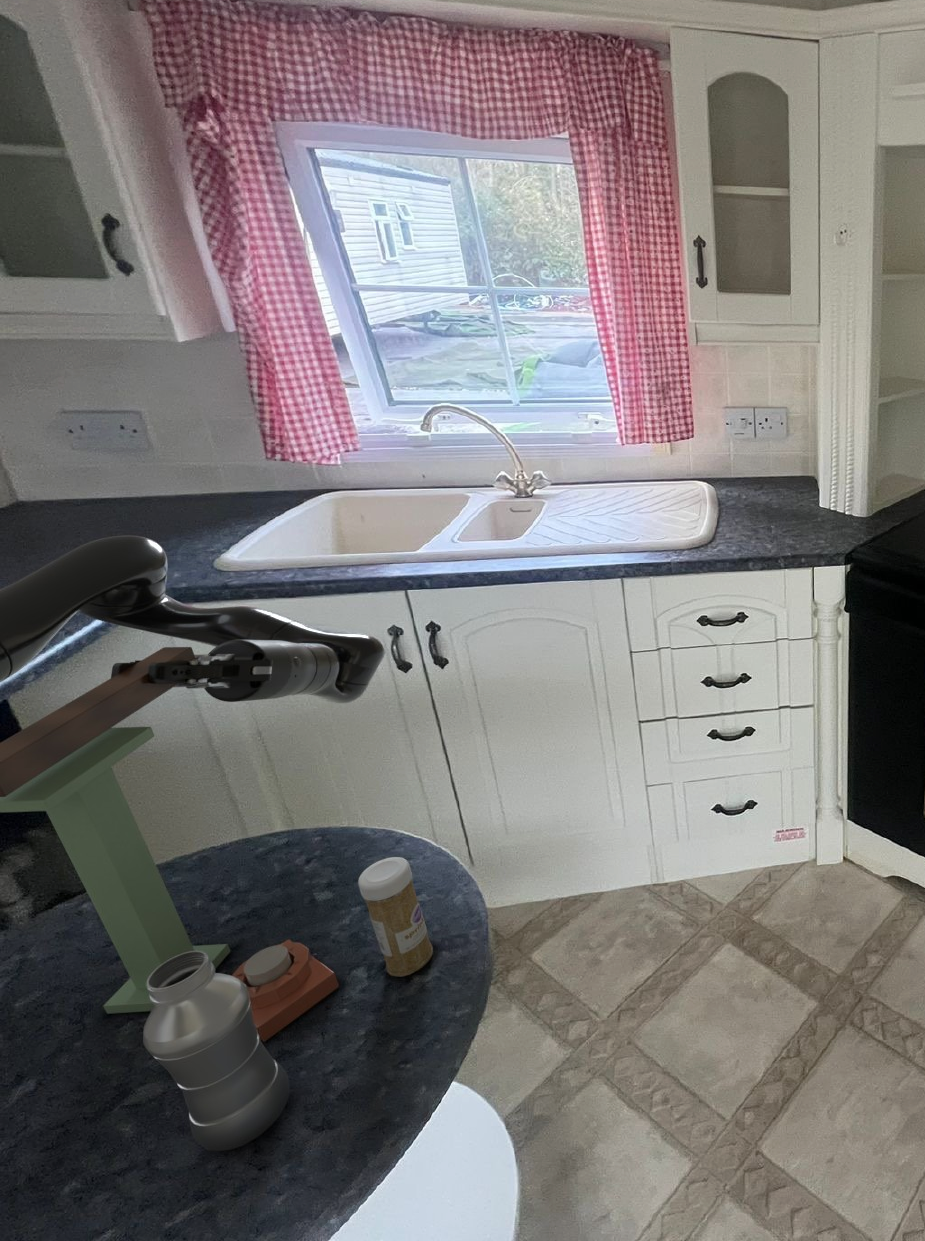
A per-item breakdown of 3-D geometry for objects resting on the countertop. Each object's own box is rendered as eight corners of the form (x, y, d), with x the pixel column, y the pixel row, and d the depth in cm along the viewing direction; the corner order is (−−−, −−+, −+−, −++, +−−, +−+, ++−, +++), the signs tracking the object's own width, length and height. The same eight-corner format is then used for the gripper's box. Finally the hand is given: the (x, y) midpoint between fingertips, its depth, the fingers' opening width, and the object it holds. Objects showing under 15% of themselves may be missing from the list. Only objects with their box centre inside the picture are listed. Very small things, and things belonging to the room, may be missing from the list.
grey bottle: (309, 1108, 70) (245, 957, 62) (217, 1179, 64) (136, 1022, 57) (278, 1071, 73) (214, 922, 65) (188, 1136, 67) (106, 981, 60)
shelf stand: (178, 939, 86) (80, 728, 75) (244, 936, 86) (156, 726, 75) (88, 1032, 75) (-40, 803, 64) (164, 1027, 76) (50, 800, 65)
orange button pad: (218, 1003, 79) (206, 977, 77) (294, 952, 85) (284, 927, 83) (264, 1042, 75) (252, 1015, 74) (339, 986, 81) (330, 960, 80)
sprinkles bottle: (431, 969, 83) (405, 879, 78) (383, 984, 82) (352, 893, 76) (435, 937, 87) (411, 850, 82) (389, 951, 85) (361, 862, 80)
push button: (240, 977, 78) (235, 966, 77) (280, 951, 81) (276, 939, 80) (259, 992, 76) (254, 980, 76) (299, 965, 79) (294, 953, 79)
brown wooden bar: (173, 670, 83) (164, 646, 82) (200, 669, 83) (191, 646, 82) (-32, 798, 63) (-48, 770, 62) (4, 797, 64) (-10, 769, 62)
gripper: (318, 698, 94) (202, 708, 77) (197, 701, 92) (51, 711, 75) (324, 639, 95) (211, 636, 78) (204, 640, 93) (62, 637, 76)
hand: (133, 673), depth 77 cm, fingers closed on brown wooden bar, 3 cm apart
